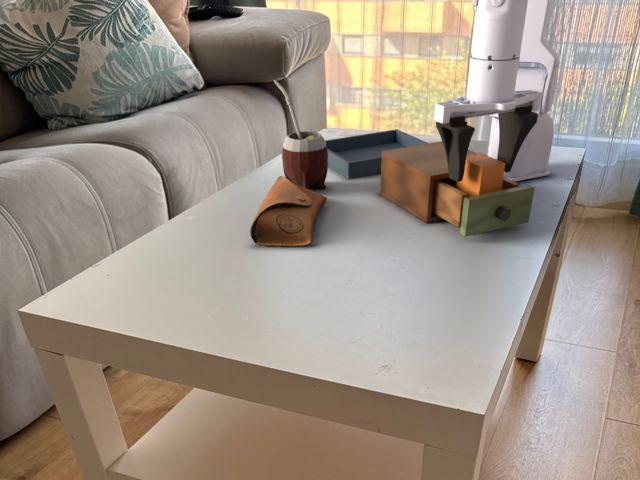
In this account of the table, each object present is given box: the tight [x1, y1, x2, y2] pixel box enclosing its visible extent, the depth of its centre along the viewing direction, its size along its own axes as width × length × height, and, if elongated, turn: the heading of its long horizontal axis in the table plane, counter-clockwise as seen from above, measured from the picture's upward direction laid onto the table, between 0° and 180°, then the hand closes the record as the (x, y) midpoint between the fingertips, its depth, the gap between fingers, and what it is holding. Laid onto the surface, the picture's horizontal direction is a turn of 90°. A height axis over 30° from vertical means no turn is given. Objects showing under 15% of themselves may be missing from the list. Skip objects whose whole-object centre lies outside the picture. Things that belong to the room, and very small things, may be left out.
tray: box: [324, 128, 429, 180], centre depth 111 cm, size 17×14×2 cm
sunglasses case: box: [249, 175, 328, 248], centre depth 89 cm, size 18×7×7 cm
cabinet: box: [379, 140, 479, 224], centre depth 93 cm, size 13×11×6 cm
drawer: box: [432, 177, 536, 238], centre depth 86 cm, size 14×10×5 cm
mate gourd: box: [273, 78, 329, 191], centre depth 96 cm, size 8×8×15 cm
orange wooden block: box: [456, 152, 505, 197], centre depth 84 cm, size 4×5×6 cm
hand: (479, 174), depth 83 cm, fingers open, 7 cm apart
